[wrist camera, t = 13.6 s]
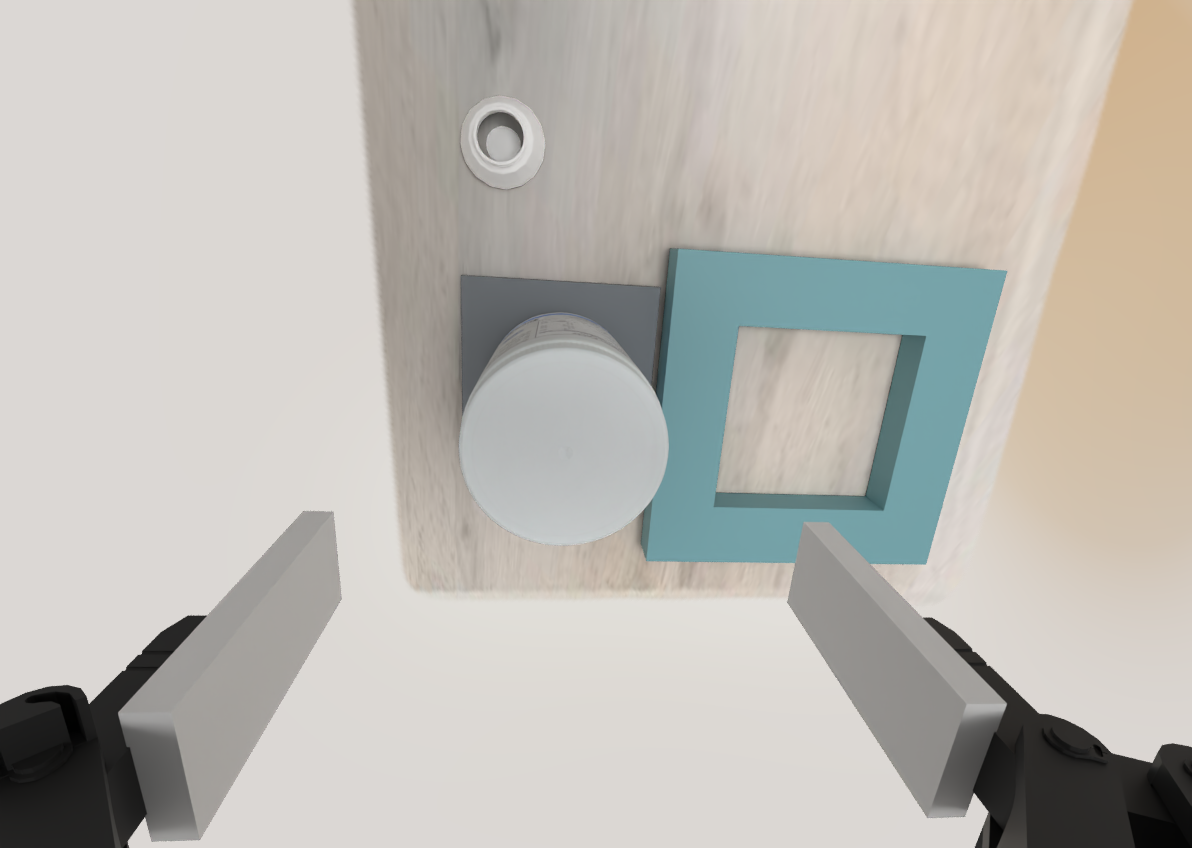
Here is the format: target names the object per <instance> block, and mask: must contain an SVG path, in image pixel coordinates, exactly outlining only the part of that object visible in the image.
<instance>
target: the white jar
mask: <svg viewBox="0 0 1192 848" xmlns="http://www.w3.org/2000/svg"><path fill="white" fill-rule="evenodd" d="M499 112H503V113H507V114H509V115H511V116H512V117H514V118H515V119H516V120H517V121H518V122H519V124H520V126H521V128H522V130H523V135H524V141H523V146H522V148H521V144H520V139H519V137H518V135H517V134H516V132H515V131H514V130H513V129H511V128H509V127H506V126H498V127H495V128H494V129H492V130H491V131H490V133H489V134H488V136H487V140H486V148H487V151H488V153H489V155H490V157H491V158H492V159H493V160H492V159H490V158H488V157H487V156H486V155H485V154H484V153H483V152H482V151H481V149H480V147H479V144H478V138H477V135H478V129H479V126H480V124H481V122H482V121H483V120H484V119H485V118H487V117H488V116H489V115H490V114H494V113H499ZM460 145H461V149H462V152H463V156H464V160H465V162H466V164H467V165H468V166H469V168H470V169H471V171H472V172H473V173H474V175H475V176H476V177H477V178H479V179H480V180H482V181H483V182H485V183H486V184H488V185H489V186H491V187H496V188H502V189H511V188H515V187H519V186H523V185H524V184H525V183H526V182H528V181H529V180H530V179H532V178H533V177H534V176H535V175H536V173H537V171H538V170H539V168H540V166H541V164H542V162H543V159H544V151H545V138H544V134H543V130H542V125H541V123H540V122H539V120H538V119H537V117H536V116H535V114H534V113H533V111H532V110H531V109H530V108H529V107H528V106H526V105H525V104H523V103H522V102H521V101H519V100H518V99H516V98H511V97H506V96H502V95H498V96H494V97H489V98H485V99H483V100H481V101H480V102H479V103H478V104H476V105H475V106H474V107H473V108H471V109H470V110H469V112H468V114H467V116H466V118H465V120H464V122H463V124H462V128H461V140H460ZM520 148H521V150H520ZM494 160H495V161H494Z"/></svg>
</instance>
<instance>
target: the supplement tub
mask: <svg viewBox="0 0 1192 848" xmlns="http://www.w3.org/2000/svg"><path fill="white" fill-rule="evenodd" d="M668 451H669V440H668V430H667V425H666V421H665V418H664V415H663V412H662V408H661V405H660V402H659V400H658V398H657V396H656V394H655V392H654V390H653V388H652V387H651V385H650V384H649V382H648V381H647V379H646V378H645V376H644V375H643V374H642V372H641V371H640V370H639V368H638V367H637V366H636V365H635V363H634V362H633V361H632V360H631V358H630V357H629V356H628V355H627V353H626V352H625V351H624V350H623V348H622V347H621V346H620V345H619V344H618V342H617V341H616V340H615V339H614V338H613V336H612V335H611V334H610V333H609V332H608V331H607V330H605V329H604V328H603V327H602V326H600V325H599V324H597V323H596V322H594V321H592V320H590V319H588V318H586V317H583V316H580V315H576V314H572V313H564V312H556V313H547V314H541V315H538V316H535V317H532V318H530V319H528V320H526V321H524V322H522V323H521V324H519V325H518V326H516V327H515V328H514V329H512V330H511V331H510V332H509V333H508V334H507V335H506V336H505V338H504V339H503V340H502V341H501V343H500V344H499V346H498V347H497V349H496V351H495V352H494V354H493V356H492V357H491V359H490V361H489V362H488V364H487V366H486V367H485V369H484V371H483V373H482V374H481V376H480V378H479V380H478V382H477V384H476V385H475V387H474V389H473V391H472V393H471V395H470V397H469V399H468V402H467V404H466V407H465V409H464V413H463V417H462V422H461V429H460V435H459V460H460V466H461V470H462V474H463V477H464V480H465V483H466V485H467V487H468V490H469V491H470V493H471V495H472V497H473V499H474V500H475V501H476V503H477V504H478V505H479V506H480V508H481V509H482V510H483V511H484V513H485V514H486V515H487V516H488V517H489V518H491V519H492V520H493V521H494V522H495V523H496V524H498V525H499V526H501V527H502V528H504V529H505V530H507V531H509V532H510V533H512V534H514V535H516V536H518V537H521V538H523V539H526V540H529V541H532V542H536V543H540V544H546V545H555V546H569V545H579V544H585V543H588V542H592V541H596V540H599V539H602V538H604V537H607V536H609V535H611V534H613V533H615V532H617V531H619V530H620V529H622V528H623V527H625V526H626V525H628V524H629V523H630V522H632V521H633V520H634V519H635V518H636V517H637V516H638V515H639V514H640V513H641V512H642V511H643V510H644V509H645V508H646V507H647V505H648V504H649V503H650V501H651V500H652V498H653V497H654V495H655V494H656V492H657V490H658V488H659V486H660V484H661V482H662V479H663V477H664V473H665V470H666V465H667V460H668Z"/></svg>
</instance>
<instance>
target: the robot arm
mask: <svg viewBox="0 0 1192 848" xmlns="http://www.w3.org/2000/svg"><path fill="white" fill-rule="evenodd" d="M340 601H341V588H340V577H339V566H338V555H337V545H336V534H335V524H334V513H333V512H324V511H303V512H302V513H301V514H300V516H299V517H298V518H297V519H296V520H295V521H294V522H293V523H292V524H291V525H290V526H289V527H288V529H287V530H286V531H285V532H284V533H283V534H282V535H281V536H280V537H279V538H278V539H277V541H276V542H275V543H274V544H273V545H272V546H271V547H270V548H269V549H268V550H267V551H266V553H265V554H264V555H263V556H262V557H261V558H260V559H259V560H258V561H257V562H256V563H255V564H254V565H253V567H252V568H251V569H250V570H249V571H248V572H247V573H246V574H245V575H244V576H243V578H242V579H241V580H240V581H239V582H238V583H237V584H236V585H235V586H234V587H233V588H232V589H231V591H230V592H229V593H228V594H227V595H226V596H225V597H224V598H223V599H222V600H221V601H220V602H219V604H218V605H217V606H216V607H215V608H214V609H213V610H212V611H211V612H210V613H209V614H208V615H207V616H187V617H185V618H183V619H182V620H180V621H178V622H177V623H175V624H174V625H172V626H170V627H169V628H167V629H166V630H164V631H162V632H161V633H160V634H159V635H158V636H157V637H156V638H155V639H154V640H153V641H152V642H151V643H150V644H149V645H148V646H147V647H146V648H145V649H144V650H143V651H142V654H141V655H138V656H137V657H136V658H135V659H134V660H133V661H132V662H131V663H130V664H129V665H128V666H127V667H126V670H125V671H122V672H121V673H120V674H119V675H118V676H117V677H116V678H115V679H114V680H113V681H112V682H111V683H110V684H109V685H108V686H107V687H106V688H105V689H104V690H103V691H102V692H101V693H100V694H99V695H98V696H97V697H96V698H95V699H94V700H93V701H92V702H91V703H90V704H88V700H87V697H86V695H85V694H84V692H83V691H82V690H81V688H77V687H73V686H69V685H63V686H51V687H45V688H42V689H38V690H35V691H31V692H27V693H24V694H22V695H20V696H18V697H15V698H13V699H11V700H9V701H6V702H4V703H2V704H0V848H129V846H128V842H127V841H128V840H129V838H130V837H131V836H132V834H133V833H134V831H135V830H136V829H137V827H138V826H139V824H140V823H141V822H142V820H143V819H144V817H145V818H146V822H147V826H148V830H149V833H150V837H151V841H152V842H153V841H185V840H200V839H201V837H202V836H203V834H204V832H205V830H206V829H207V827H208V825H209V824H210V822H211V820H212V818H213V817H214V815H215V813H216V812H217V810H218V808H219V807H220V805H221V803H222V801H223V800H224V798H225V796H226V795H227V793H228V791H229V790H230V788H231V786H232V785H233V783H234V781H235V779H236V778H237V776H238V774H239V773H240V771H241V769H242V767H243V766H244V764H245V762H246V761H247V759H248V757H249V756H250V754H251V752H252V750H253V749H254V747H255V745H256V744H257V742H258V740H259V739H260V737H261V735H262V734H263V732H264V730H265V728H266V727H267V725H268V723H269V722H270V720H271V718H272V717H273V715H274V713H275V711H276V710H277V708H278V706H279V704H280V703H281V701H282V700H283V698H284V696H285V694H286V693H287V691H288V689H289V688H290V686H291V684H292V683H293V681H294V679H295V677H296V676H297V674H298V672H299V671H300V669H301V667H302V665H303V664H304V662H305V660H306V659H307V657H308V655H309V654H310V652H311V650H312V649H313V647H314V645H315V643H316V642H317V640H318V638H319V637H320V635H321V633H322V631H323V630H324V628H325V626H326V625H327V623H328V621H329V620H330V618H331V616H332V615H333V613H334V611H335V609H336V608H337V606H338V604H339V603H340ZM787 603H788V604H789V606H790V607H791V609H792V610H793V612H794V613H795V615H796V617H797V618H798V620H799V621H800V623H801V624H802V626H803V627H804V629H805V630H806V632H807V633H808V635H809V637H810V638H811V640H812V641H813V643H814V644H815V646H816V647H817V649H818V650H819V652H820V653H821V655H822V656H823V658H824V659H825V661H826V663H827V664H828V666H829V667H830V669H831V670H832V672H833V673H834V675H835V677H836V678H837V679H838V681H839V683H840V684H841V686H842V687H843V689H844V690H845V692H846V693H847V695H848V696H849V698H850V700H851V701H852V703H853V704H854V706H855V707H856V709H857V710H858V712H859V713H860V715H861V717H862V718H863V720H864V721H865V722H866V724H867V725H868V727H869V729H870V730H871V732H872V733H873V735H874V737H875V738H876V739H877V741H878V743H879V744H880V746H881V747H882V749H883V750H884V752H885V753H886V755H887V757H888V758H889V760H890V761H891V762H892V764H893V766H894V767H895V769H896V770H897V772H898V773H899V775H900V777H901V778H902V780H903V781H904V783H905V784H906V786H907V787H908V789H909V790H910V792H911V793H912V795H913V797H914V798H915V800H916V801H917V803H918V804H919V806H920V807H921V809H922V810H923V812H924V813H925V815H926V816H927V818H943V817H965V815H966V812H967V810H968V807H969V804H970V802H971V799H972V796H973V794H974V793H975V794H976V796H977V797H978V798H979V800H980V801H981V802H982V804H983V805H984V806H985V808H986V809H987V810H988V811H989V813H988V815H987V818H986V821H985V823H984V826H983V828H982V831H981V833H980V836H979V838H978V841H977V843H976V846H975V848H1192V747H1189V746H1183V745H1178V744H1166V745H1162V746H1161V748H1160V750H1159V751H1158V753H1157V755H1156V757H1155V759H1154V761H1153V763H1150V762H1145V761H1141V760H1137V759H1133V758H1129V757H1125V756H1120V755H1116V754H1112V753H1111V752H1110V751H1109V750H1108V749H1107V748H1106V747H1105V746H1104V745H1103V744H1102V743H1101V742H1100V741H1099V740H1098V739H1097V738H1095V737H1094V736H1092V735H1091V734H1089V733H1088V732H1087V731H1085V730H1084V729H1083V728H1081V727H1079V726H1076V725H1075V724H1072V723H1071V722H1069V721H1066V720H1064V719H1061V718H1058V717H1055V716H1052V715H1048V714H1039V713H1037V711H1036V710H1035V709H1033V707H1032V706H1030V705H1029V704H1028V703H1027V702H1026V701H1025V700H1024V699H1023V698H1022V697H1021V696H1020V695H1019V694H1018V693H1017V692H1016V691H1015V690H1014V689H1013V688H1012V687H1011V686H1010V685H1009V684H1008V683H1007V682H1006V681H1005V680H1004V679H1003V678H1002V677H1001V676H1000V675H999V674H998V673H997V672H995V671H994V670H993V669H992V668H991V667H990V666H987V665H986V662H985V661H984V660H983V659H982V658H981V657H980V656H979V655H978V654H977V653H976V652H973V651H972V648H971V647H970V646H969V645H968V644H967V643H966V642H964V640H963V639H962V638H960V637H959V636H958V635H957V634H956V633H955V632H954V631H952V630H951V629H949V628H948V627H946V626H944V625H943V624H941V623H940V622H938V621H937V620H935V619H933V618H922V617H921V616H920V615H919V614H918V613H917V611H916V610H915V609H914V608H913V607H912V606H911V605H910V604H909V603H908V602H907V601H906V600H905V599H904V598H903V597H902V596H901V595H900V594H899V593H898V592H897V591H896V590H895V589H894V588H893V587H892V586H891V585H890V584H889V583H888V582H887V581H886V580H885V579H884V578H883V577H882V576H881V575H880V574H879V573H878V572H877V571H876V570H875V569H874V568H873V567H872V566H871V565H870V564H869V563H868V562H867V561H866V560H865V559H864V558H863V557H862V556H861V555H860V553H859V552H858V551H857V550H856V549H855V548H854V547H853V546H852V545H851V544H850V543H849V542H848V541H847V540H846V539H845V538H844V537H843V536H842V535H841V534H840V533H839V532H838V531H837V530H836V529H835V528H834V527H833V526H832V525H831V524H830V523H829V522H803V527H802V532H801V537H800V542H799V547H798V552H797V557H796V562H795V567H794V572H793V577H792V582H791V587H790V592H789V596H788V601H787Z"/></svg>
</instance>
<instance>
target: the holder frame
mask: <svg viewBox="0 0 1192 848" xmlns="http://www.w3.org/2000/svg"><path fill="white" fill-rule="evenodd" d="M1006 274H1007V271H1003V270H988V269H973V268H958V267H943V266H928V265H914V264H899V263H884V262H869V261H854V260H839V259H824V258H810V257H795V256H780V255H765V254H750V253H735V252H720V251H706V250H691V249H670V254H669V264H668V275H667V285H666V295H665V305H664V315H663V325H662V336H661V346H660V356H659V366H658V376H657V386H656V396H657V398H658V400H659V402H660V405H661V408H662V412H663V415H664V418H665V421H666V425H667V430H668V440H669V451H668V460H667V465H666V470H665V473H664V477H663V479H662V482H661V484H660V486H659V488H658V490H657V492H656V494H655V495H654V497H653V498H652V500H651V501H650V503H649V504H648V505H647V507H646V508H645V509H644V518H643V528H642V539H641V545H642V549H643V552H644V555H645V558H646V561H677V562H761V563H795V562H796V557H797V552H798V547H799V542H800V537H801V532H802V527H803V522H829V523H830V524H831V525H832V526H833V527H834V528H835V529H836V530H837V531H838V532H839V533H840V534H841V535H842V536H843V537H844V538H845V539H846V540H847V541H848V542H849V543H850V544H851V545H852V546H853V547H854V548H855V549H856V550H857V551H858V552H859V553H860V555H861V556H862V557H863V558H864V559H865V560H866V561H867V562H868V563H869V564H926V563H927V559H928V555H929V552H930V548H931V545H932V541H933V537H934V534H935V530H936V527H937V523H938V519H939V516H940V512H941V509H942V505H943V501H944V498H945V494H946V490H947V487H948V483H949V480H950V476H951V472H952V469H953V465H954V462H955V458H956V454H957V451H958V447H959V444H960V440H961V436H962V433H963V429H964V426H965V422H966V418H967V415H968V411H969V407H970V404H971V400H972V397H973V393H974V389H975V386H976V382H977V379H978V375H979V371H980V368H981V364H982V361H983V357H984V353H985V350H986V346H987V343H988V339H989V335H990V332H991V328H992V324H993V321H994V317H995V314H996V310H997V306H998V303H999V299H1000V296H1001V292H1002V288H1003V285H1004V281H1005V278H1006ZM739 326H753V327H771V328H789V329H808V330H826V331H845V332H863V333H882V334H900V335H903V336H902V340H901V344H900V349H899V353H898V358H897V362H896V366H895V371H894V375H893V379H892V384H891V388H890V392H889V397H888V401H887V405H886V410H885V414H884V418H883V423H882V427H881V431H880V436H879V440H878V445H877V449H876V453H875V458H874V462H873V466H872V471H871V475H870V479H869V484H868V488H867V492H866V496H830V495H789V494H748V493H716V486H717V479H718V472H719V464H720V457H721V450H722V443H723V436H724V429H725V422H726V414H727V407H728V400H729V393H730V386H731V379H732V372H733V364H734V357H735V350H736V343H737V336H738V329H739Z"/></svg>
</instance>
